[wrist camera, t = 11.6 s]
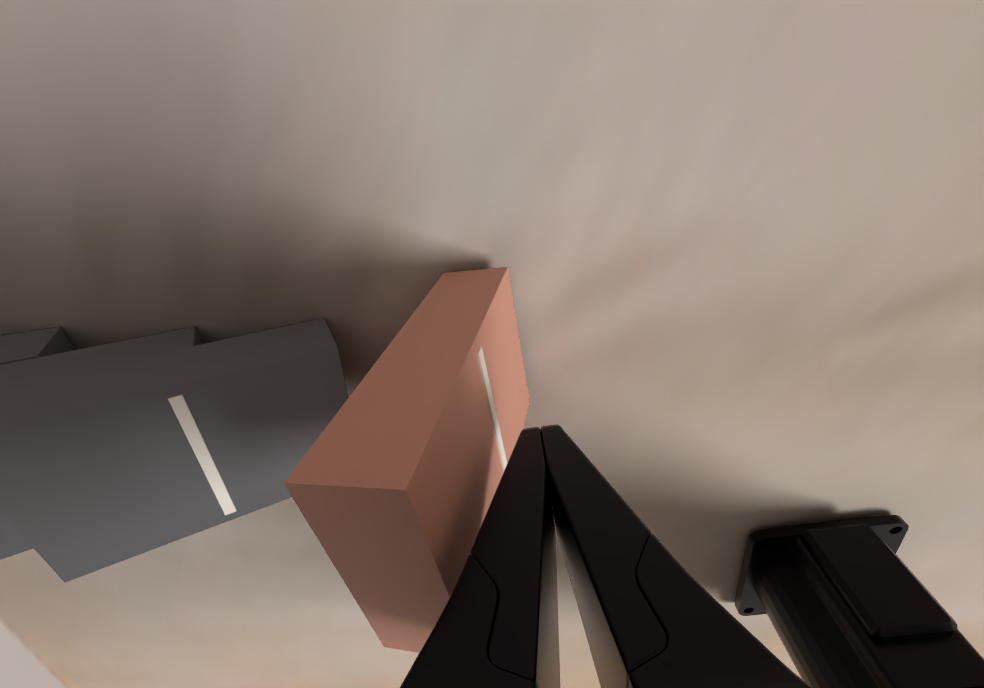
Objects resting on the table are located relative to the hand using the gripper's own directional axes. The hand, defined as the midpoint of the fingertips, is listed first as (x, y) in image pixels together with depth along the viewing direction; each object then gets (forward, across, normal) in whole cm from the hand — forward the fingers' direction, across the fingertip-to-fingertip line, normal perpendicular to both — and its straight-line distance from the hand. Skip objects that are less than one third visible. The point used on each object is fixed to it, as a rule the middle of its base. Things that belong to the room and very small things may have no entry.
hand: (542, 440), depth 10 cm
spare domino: (+5, +1, 0) cm, 5 cm away
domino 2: (+4, +6, +1) cm, 8 cm away
